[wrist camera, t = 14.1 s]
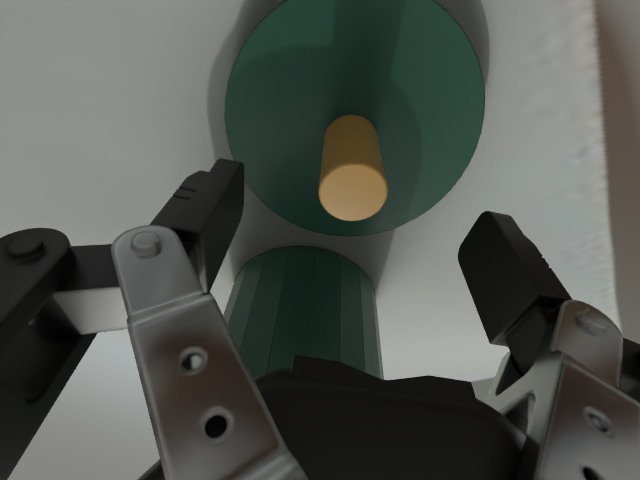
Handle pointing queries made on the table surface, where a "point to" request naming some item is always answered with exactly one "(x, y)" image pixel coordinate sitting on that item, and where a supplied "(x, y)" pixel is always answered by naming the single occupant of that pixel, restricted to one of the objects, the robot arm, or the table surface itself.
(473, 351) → the table surface
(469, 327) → the table surface
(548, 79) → the table surface
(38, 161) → the table surface
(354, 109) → the lid
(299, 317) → the tin
